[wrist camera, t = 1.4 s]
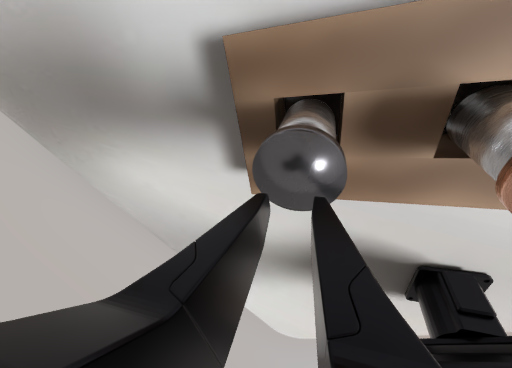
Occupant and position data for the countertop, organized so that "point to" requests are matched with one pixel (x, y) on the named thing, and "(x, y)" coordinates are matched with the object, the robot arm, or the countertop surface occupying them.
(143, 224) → the countertop surface
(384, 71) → the socket block
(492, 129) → the copper capped plug
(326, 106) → the grey plug
